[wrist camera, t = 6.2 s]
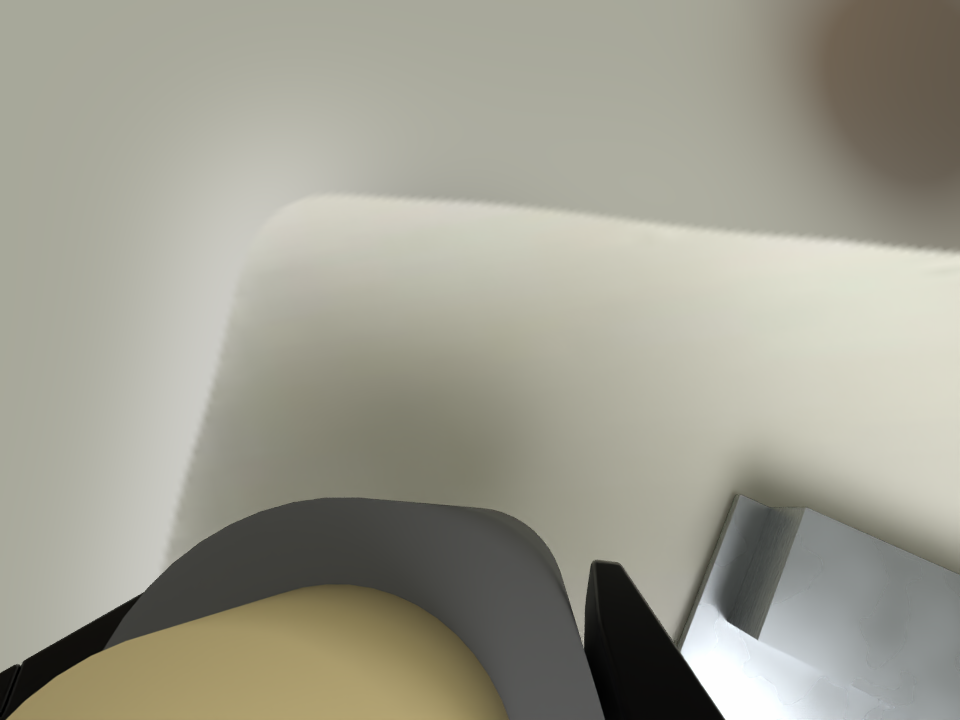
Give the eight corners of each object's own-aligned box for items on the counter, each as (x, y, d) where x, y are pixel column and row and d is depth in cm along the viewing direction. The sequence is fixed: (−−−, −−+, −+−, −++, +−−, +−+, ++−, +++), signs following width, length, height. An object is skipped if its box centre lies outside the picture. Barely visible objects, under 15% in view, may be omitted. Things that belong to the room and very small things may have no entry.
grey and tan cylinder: (518, 734, 15) (368, 2063, 2) (356, 641, 15) (-443, 1194, 3) (594, 557, 15) (825, 754, 3) (437, 478, 16) (76, 358, 4)
